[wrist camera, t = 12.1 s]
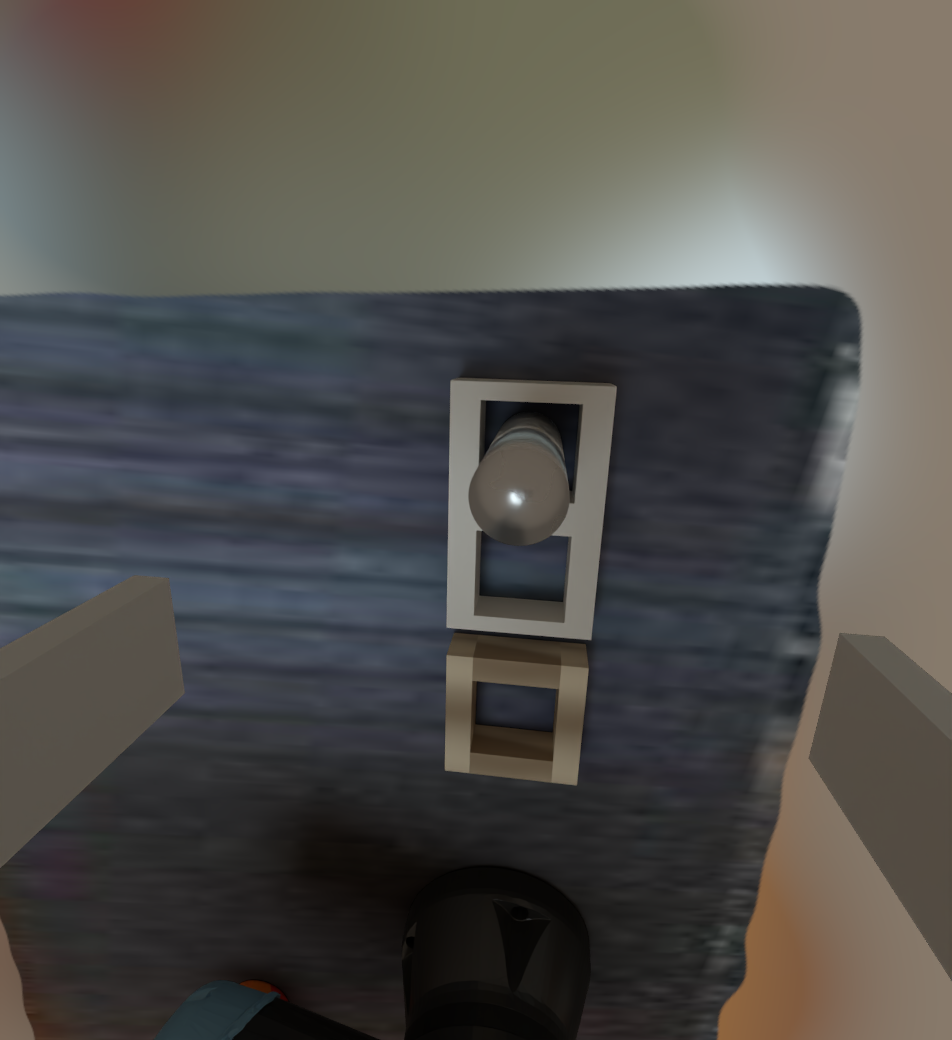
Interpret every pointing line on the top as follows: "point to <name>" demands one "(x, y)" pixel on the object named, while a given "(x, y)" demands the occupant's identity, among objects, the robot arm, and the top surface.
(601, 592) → the top surface
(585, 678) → the socket block
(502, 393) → the rack
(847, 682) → the robot arm
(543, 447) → the grey peg
